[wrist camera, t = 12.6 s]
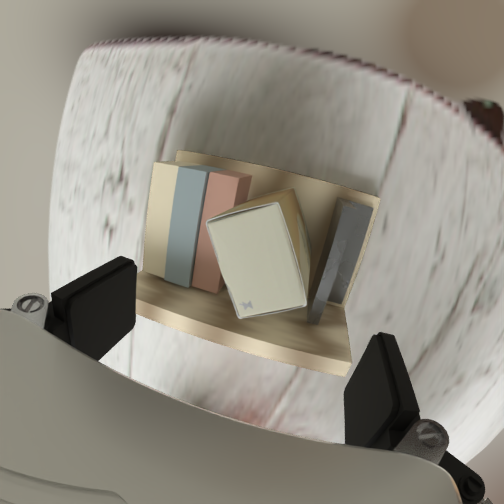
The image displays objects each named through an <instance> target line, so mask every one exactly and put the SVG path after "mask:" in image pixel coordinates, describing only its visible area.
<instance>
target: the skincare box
mask: <svg viewBox="0 0 504 504" xmlns="http://www.w3.org/2000/svg"><path fill="white" fill-rule="evenodd" d="M206 227H207V230H208V233H209V236H210V239H211V242H212V245H213V248H214V251H215V254H216V257H217V261H218V264H219V267H220V270H221V273H222V276H223V278H224V281H225V283H226V286H227V289H228V292H229V295H230V297H231V300H232V303H233V306H234V308H235V311H236V314H237V317H238V318H239V319H242V318H248V317H255V316H262V315H267V314H273V313H279V312H284V311H289V310H293V309H296V308H301V307H305V306H306V305H307V295H308V284H309V273H310V260H311V249H312V247H311V242H310V238H309V233H308V229H307V225H306V221H305V217H304V214H303V211H302V207H301V204H300V201H299V198H298V195H297V192H296V189H295V187H292V188H288V189H284V190H280V191H276V192H272V193H268V194H265V195H261V196H258V197H255V198H252V199H250V200H248V201H246V202H244V203H242V204H239V205H237V206H235V207H233V208H231V209H229V210H227V211H225V212H222V213H220V214H218V215H216V216H214V217H212V218H210V219H208V220H207V221H206Z"/></svg>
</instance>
